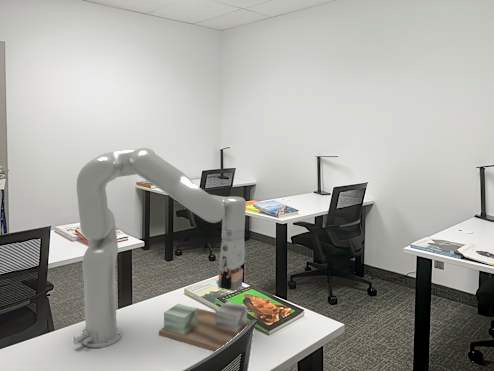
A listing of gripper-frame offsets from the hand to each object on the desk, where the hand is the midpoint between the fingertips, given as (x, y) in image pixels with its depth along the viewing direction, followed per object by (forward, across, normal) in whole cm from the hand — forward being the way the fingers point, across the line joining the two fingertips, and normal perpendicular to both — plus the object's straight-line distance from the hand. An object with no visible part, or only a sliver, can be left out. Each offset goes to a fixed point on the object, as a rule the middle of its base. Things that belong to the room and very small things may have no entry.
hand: (230, 284), depth 144 cm
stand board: (+16, -4, +6) cm, 18 cm away
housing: (+1, 0, 0) cm, 1 cm away
